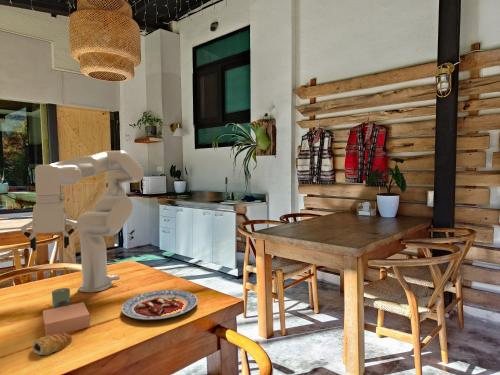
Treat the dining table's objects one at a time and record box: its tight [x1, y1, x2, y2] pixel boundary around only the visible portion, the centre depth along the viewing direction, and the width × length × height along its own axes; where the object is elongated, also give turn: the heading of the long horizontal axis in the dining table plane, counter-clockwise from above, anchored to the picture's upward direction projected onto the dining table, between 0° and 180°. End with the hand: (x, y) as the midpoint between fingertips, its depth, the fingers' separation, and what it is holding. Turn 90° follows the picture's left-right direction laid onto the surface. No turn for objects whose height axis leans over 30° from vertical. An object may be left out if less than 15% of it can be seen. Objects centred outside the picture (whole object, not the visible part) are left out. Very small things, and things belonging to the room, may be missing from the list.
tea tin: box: [51, 287, 72, 309], centre depth 124 cm, size 6×6×7 cm
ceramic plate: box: [121, 289, 198, 321], centre depth 124 cm, size 26×26×3 cm
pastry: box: [32, 332, 73, 356], centre depth 98 cm, size 9×7×4 cm
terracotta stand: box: [42, 301, 91, 336], centre depth 112 cm, size 12×12×4 cm
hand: (50, 248), depth 124 cm, fingers open, 9 cm apart
